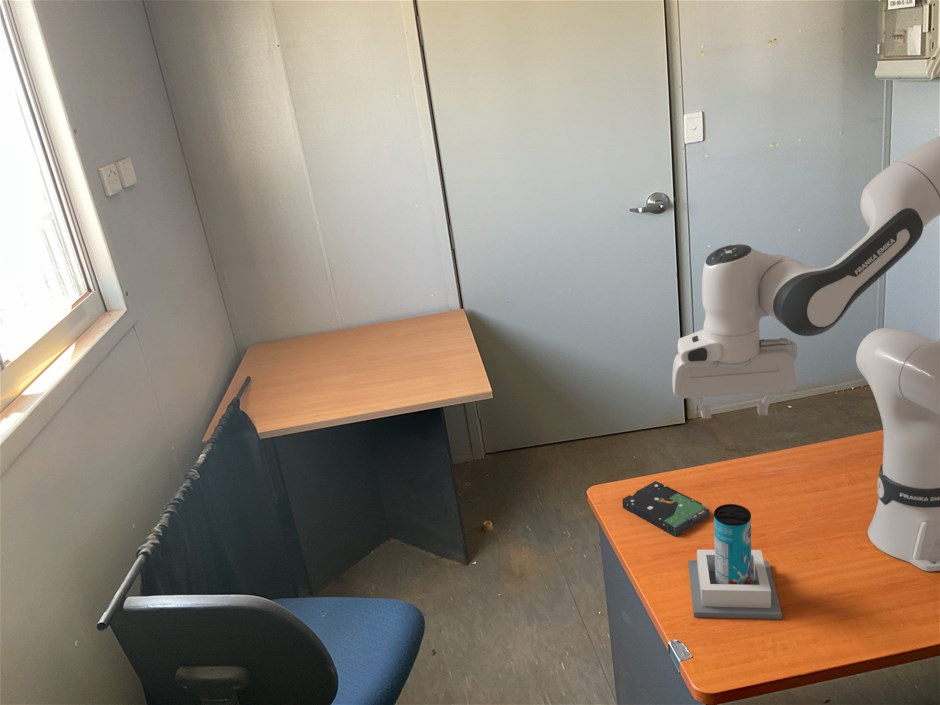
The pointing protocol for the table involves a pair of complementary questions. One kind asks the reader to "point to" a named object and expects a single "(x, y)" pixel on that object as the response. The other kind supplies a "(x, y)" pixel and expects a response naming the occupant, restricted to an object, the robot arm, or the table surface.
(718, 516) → the beverage can
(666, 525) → the disk drive
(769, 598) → the can holder
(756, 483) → the table surface
